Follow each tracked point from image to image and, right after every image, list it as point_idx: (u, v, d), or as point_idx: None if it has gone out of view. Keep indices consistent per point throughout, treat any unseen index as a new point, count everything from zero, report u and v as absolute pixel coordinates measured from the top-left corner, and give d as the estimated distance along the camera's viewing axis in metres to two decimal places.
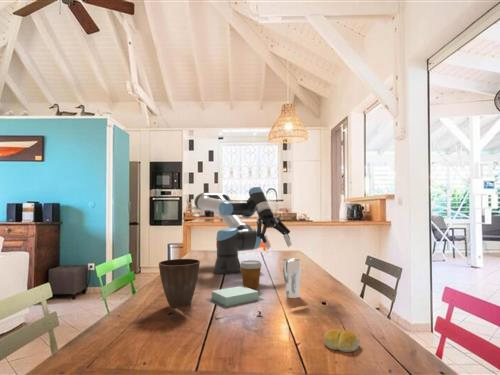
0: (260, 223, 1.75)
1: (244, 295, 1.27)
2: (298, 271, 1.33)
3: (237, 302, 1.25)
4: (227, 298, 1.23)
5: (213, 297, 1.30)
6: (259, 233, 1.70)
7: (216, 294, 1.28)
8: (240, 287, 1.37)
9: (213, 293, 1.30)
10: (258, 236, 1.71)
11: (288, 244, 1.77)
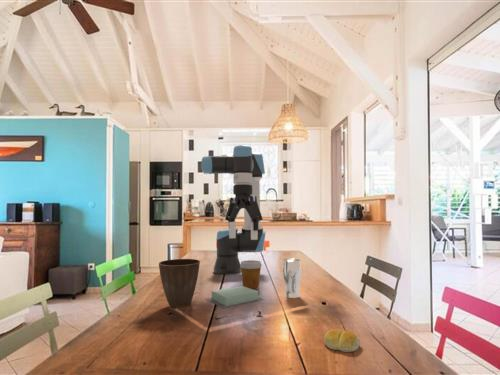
0: (230, 204, 1.40)
1: (244, 295, 1.27)
2: (298, 271, 1.33)
3: (237, 302, 1.25)
4: (227, 298, 1.23)
5: (213, 297, 1.30)
6: (225, 219, 1.42)
7: (216, 294, 1.28)
8: (240, 287, 1.37)
9: (213, 293, 1.30)
10: None
11: None
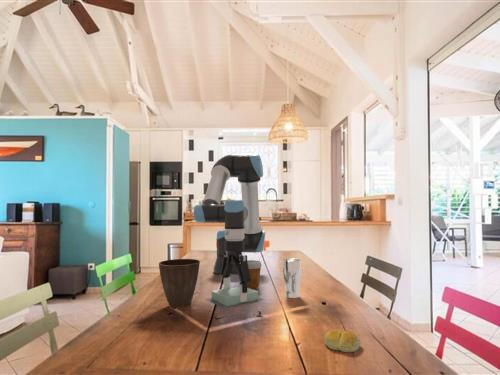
0: (223, 259, 1.36)
1: None
2: (298, 271, 1.33)
3: (237, 302, 1.25)
4: (227, 298, 1.23)
5: (213, 297, 1.30)
6: (220, 273, 1.38)
7: (216, 294, 1.28)
8: None
9: (213, 293, 1.30)
10: None
11: None
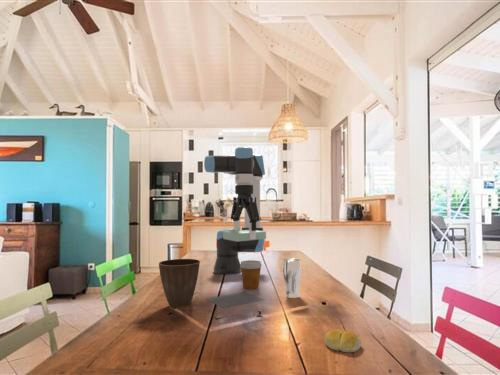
0: (233, 203, 1.48)
1: None
2: (298, 271, 1.33)
3: (247, 239, 1.37)
4: (238, 234, 1.35)
5: (225, 236, 1.42)
6: None
7: (227, 233, 1.40)
8: None
9: (225, 233, 1.42)
10: None
11: None
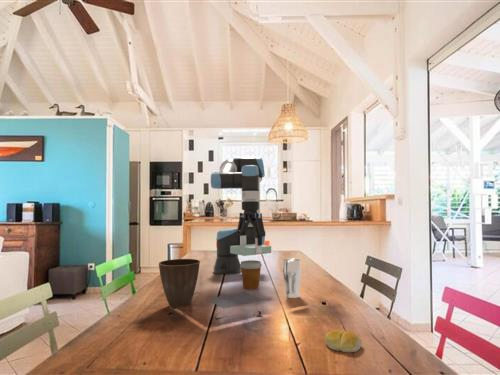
0: (240, 219, 1.54)
1: None
2: (298, 271, 1.33)
3: (253, 253, 1.43)
4: (245, 249, 1.41)
5: (231, 251, 1.48)
6: (236, 232, 1.56)
7: (234, 247, 1.46)
8: None
9: (231, 247, 1.48)
10: None
11: None
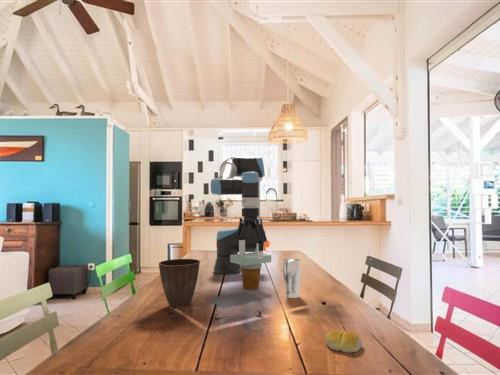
0: (239, 224, 1.54)
1: None
2: (298, 271, 1.33)
3: (253, 263, 1.43)
4: (245, 259, 1.41)
5: (231, 260, 1.48)
6: (235, 237, 1.57)
7: (234, 257, 1.47)
8: (255, 253, 1.55)
9: (231, 256, 1.48)
10: None
11: None
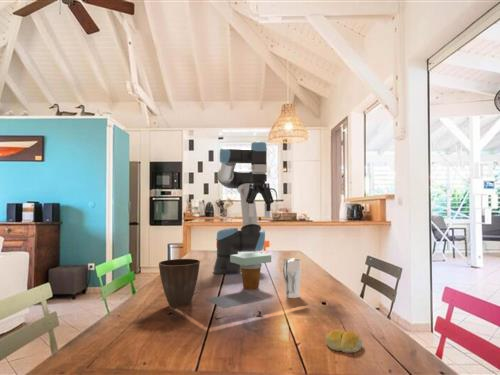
0: (249, 189, 1.73)
1: (259, 257, 1.45)
2: (298, 271, 1.33)
3: (253, 263, 1.43)
4: (245, 259, 1.41)
5: (232, 260, 1.48)
6: (245, 201, 1.75)
7: (234, 257, 1.46)
8: (255, 253, 1.55)
9: (231, 256, 1.48)
10: None
11: None
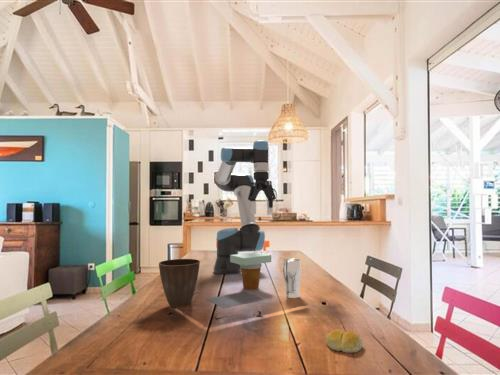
0: (251, 187, 1.77)
1: (259, 257, 1.45)
2: (298, 271, 1.33)
3: (253, 263, 1.43)
4: (245, 259, 1.41)
5: (231, 260, 1.48)
6: (248, 198, 1.79)
7: (234, 257, 1.46)
8: (255, 253, 1.55)
9: (231, 256, 1.48)
10: None
11: None
